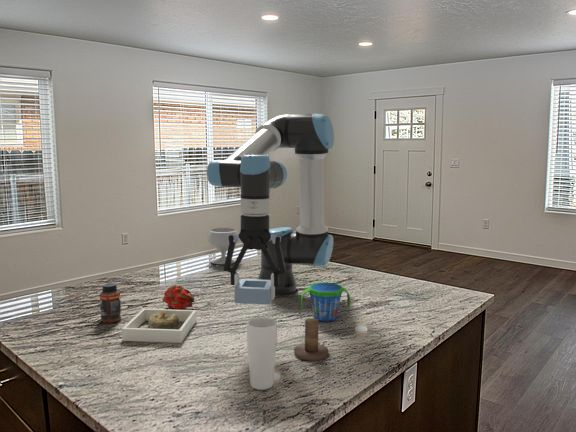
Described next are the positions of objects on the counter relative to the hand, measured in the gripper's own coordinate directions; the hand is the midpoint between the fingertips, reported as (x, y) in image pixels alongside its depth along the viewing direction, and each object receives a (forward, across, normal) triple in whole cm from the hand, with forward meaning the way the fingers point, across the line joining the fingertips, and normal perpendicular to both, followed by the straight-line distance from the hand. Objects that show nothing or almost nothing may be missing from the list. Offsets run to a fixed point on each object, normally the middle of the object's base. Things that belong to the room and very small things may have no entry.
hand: (254, 297), depth 131 cm
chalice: (+14, -30, +92) cm, 97 cm away
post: (+14, +16, -3) cm, 21 cm away
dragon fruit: (+14, -30, +26) cm, 42 cm away
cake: (+14, -29, +10) cm, 34 cm away
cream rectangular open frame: (+14, -29, +7) cm, 33 cm away
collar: (0, 0, 0) cm, 0 cm away
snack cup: (+14, +19, +24) cm, 33 cm away
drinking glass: (+14, +5, -21) cm, 26 cm away
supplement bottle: (+14, -47, +14) cm, 51 cm away
